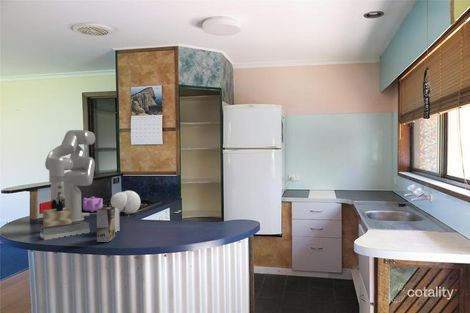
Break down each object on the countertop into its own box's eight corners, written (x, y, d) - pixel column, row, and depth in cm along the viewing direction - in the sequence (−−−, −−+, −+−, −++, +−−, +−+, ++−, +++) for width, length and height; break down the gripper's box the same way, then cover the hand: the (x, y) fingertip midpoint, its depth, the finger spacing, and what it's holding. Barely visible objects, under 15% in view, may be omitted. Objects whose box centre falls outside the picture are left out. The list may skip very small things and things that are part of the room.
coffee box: (110, 242, 161) (109, 209, 161) (96, 243, 161) (96, 209, 160) (115, 237, 170) (115, 206, 170) (102, 238, 170) (102, 206, 170)
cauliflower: (134, 210, 247) (133, 188, 247) (145, 214, 234) (145, 190, 234) (107, 214, 234) (106, 191, 233) (117, 218, 221) (117, 193, 220)
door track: (84, 229, 189) (84, 220, 189) (89, 232, 182) (89, 223, 182) (40, 236, 174) (40, 227, 174) (44, 240, 167) (44, 230, 167)
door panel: (70, 227, 194) (70, 207, 194) (72, 228, 192) (71, 207, 192) (43, 231, 184) (42, 210, 184) (44, 232, 182) (44, 210, 182)
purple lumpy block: (79, 213, 238) (79, 198, 238) (83, 210, 251) (83, 195, 251) (102, 212, 241) (102, 197, 241) (105, 209, 255) (105, 195, 254)
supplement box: (120, 231, 184) (119, 208, 184) (110, 234, 177) (110, 210, 177) (109, 230, 187) (108, 207, 187) (99, 233, 180) (99, 210, 180)
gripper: (68, 179, 184) (69, 211, 183) (59, 178, 196) (59, 208, 196) (53, 180, 179) (54, 212, 178) (45, 179, 191) (45, 209, 191)
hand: (57, 210), depth 187 cm, fingers open, 9 cm apart
